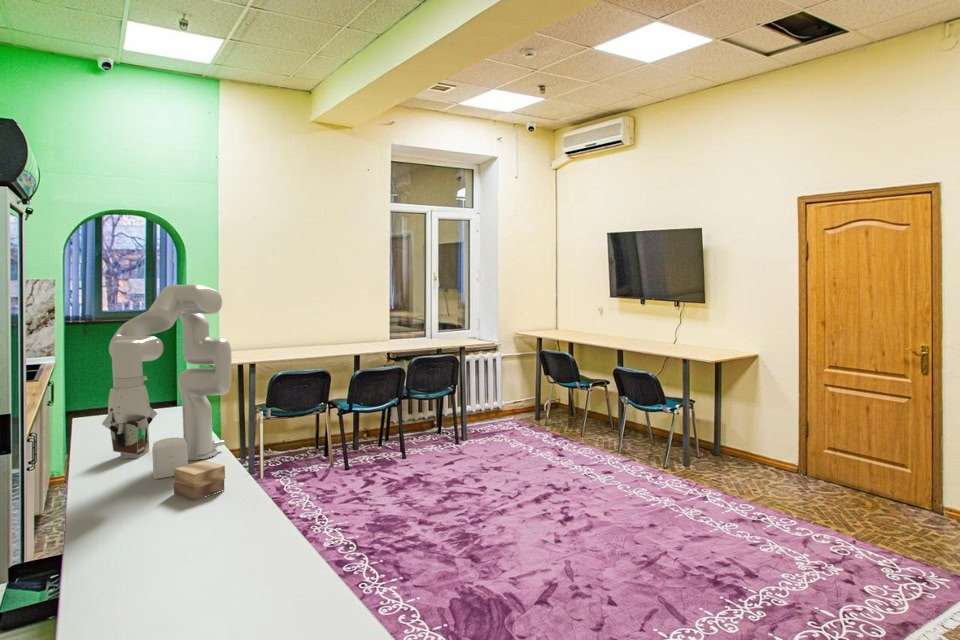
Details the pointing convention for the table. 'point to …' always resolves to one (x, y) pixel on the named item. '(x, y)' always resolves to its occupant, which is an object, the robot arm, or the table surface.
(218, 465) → the oak slab
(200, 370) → the robot arm
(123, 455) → the coffee box
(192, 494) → the tan cardboard flat block
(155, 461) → the photo printer
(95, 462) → the table surface
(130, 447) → the food container
